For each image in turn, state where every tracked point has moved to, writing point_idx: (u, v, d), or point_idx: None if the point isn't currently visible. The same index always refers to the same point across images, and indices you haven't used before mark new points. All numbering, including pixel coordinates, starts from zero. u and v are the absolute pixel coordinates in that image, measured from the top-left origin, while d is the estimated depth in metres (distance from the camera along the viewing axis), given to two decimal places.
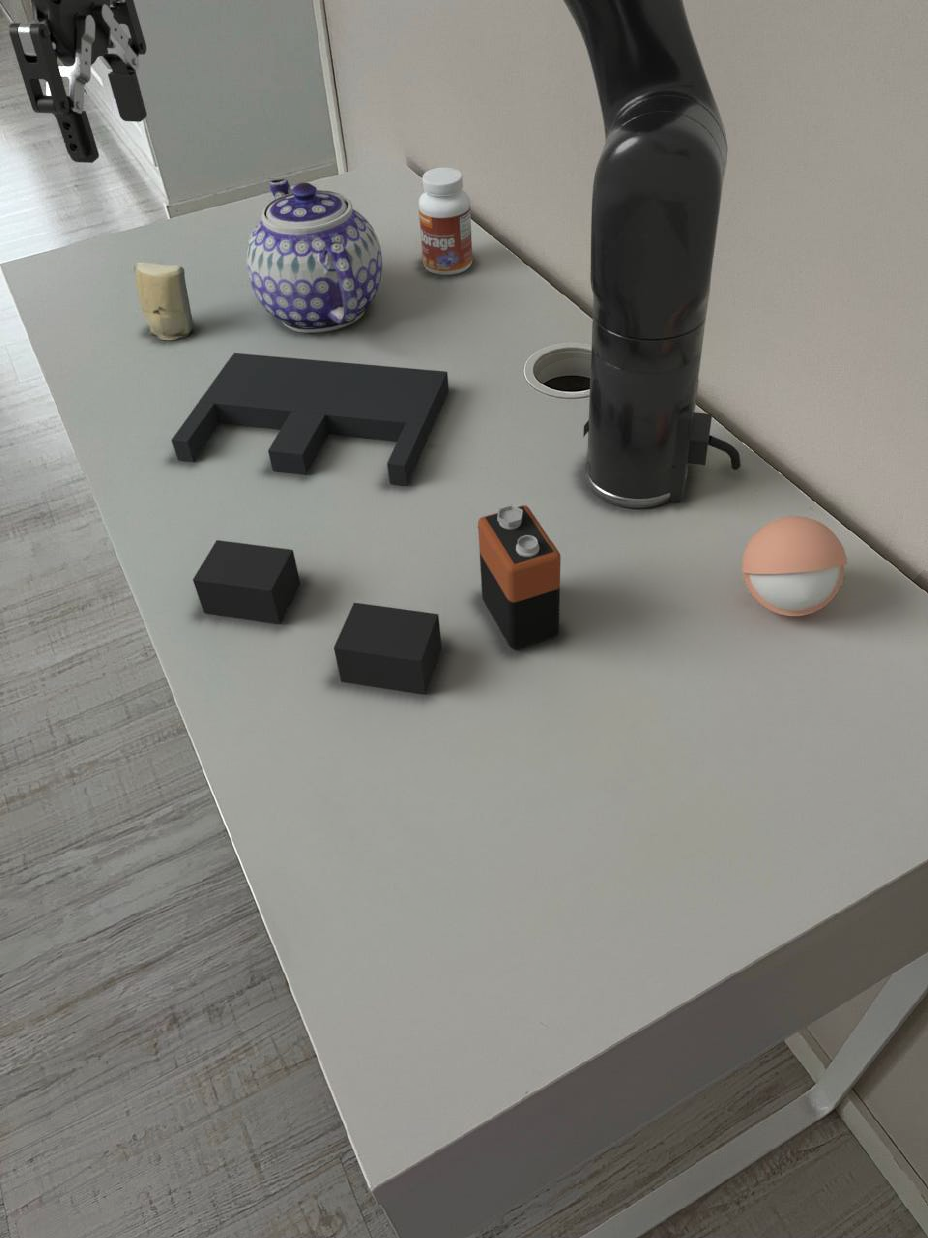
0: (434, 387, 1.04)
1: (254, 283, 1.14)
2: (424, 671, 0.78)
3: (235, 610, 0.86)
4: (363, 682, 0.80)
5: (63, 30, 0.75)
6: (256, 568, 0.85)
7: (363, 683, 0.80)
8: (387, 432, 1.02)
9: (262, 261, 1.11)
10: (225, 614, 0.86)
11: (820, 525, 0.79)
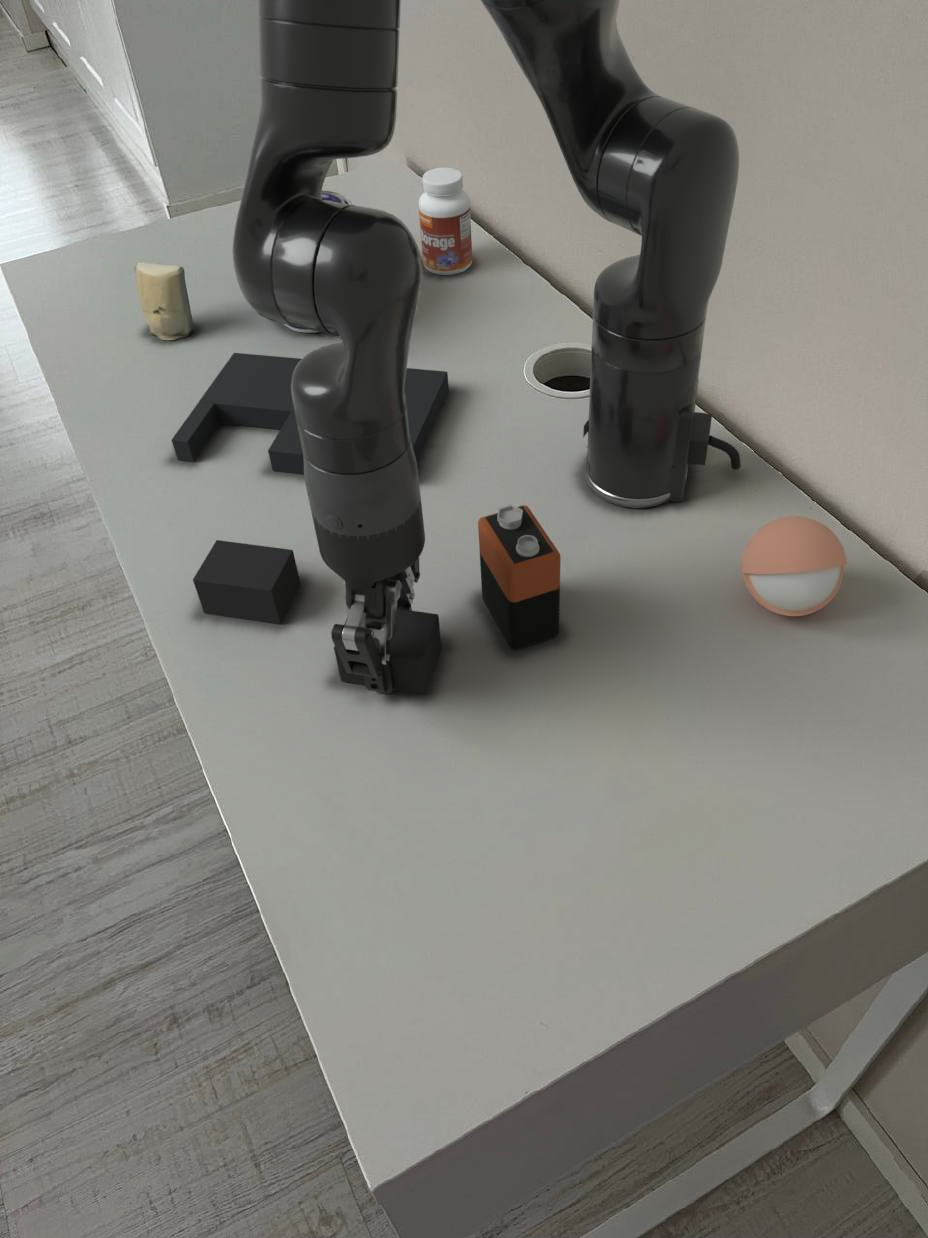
0: (434, 387, 1.04)
1: None
2: (424, 671, 0.78)
3: (235, 610, 0.86)
4: (363, 682, 0.80)
5: (376, 607, 0.72)
6: (256, 568, 0.85)
7: (363, 683, 0.80)
8: None
9: None
10: (225, 614, 0.86)
11: (820, 525, 0.79)
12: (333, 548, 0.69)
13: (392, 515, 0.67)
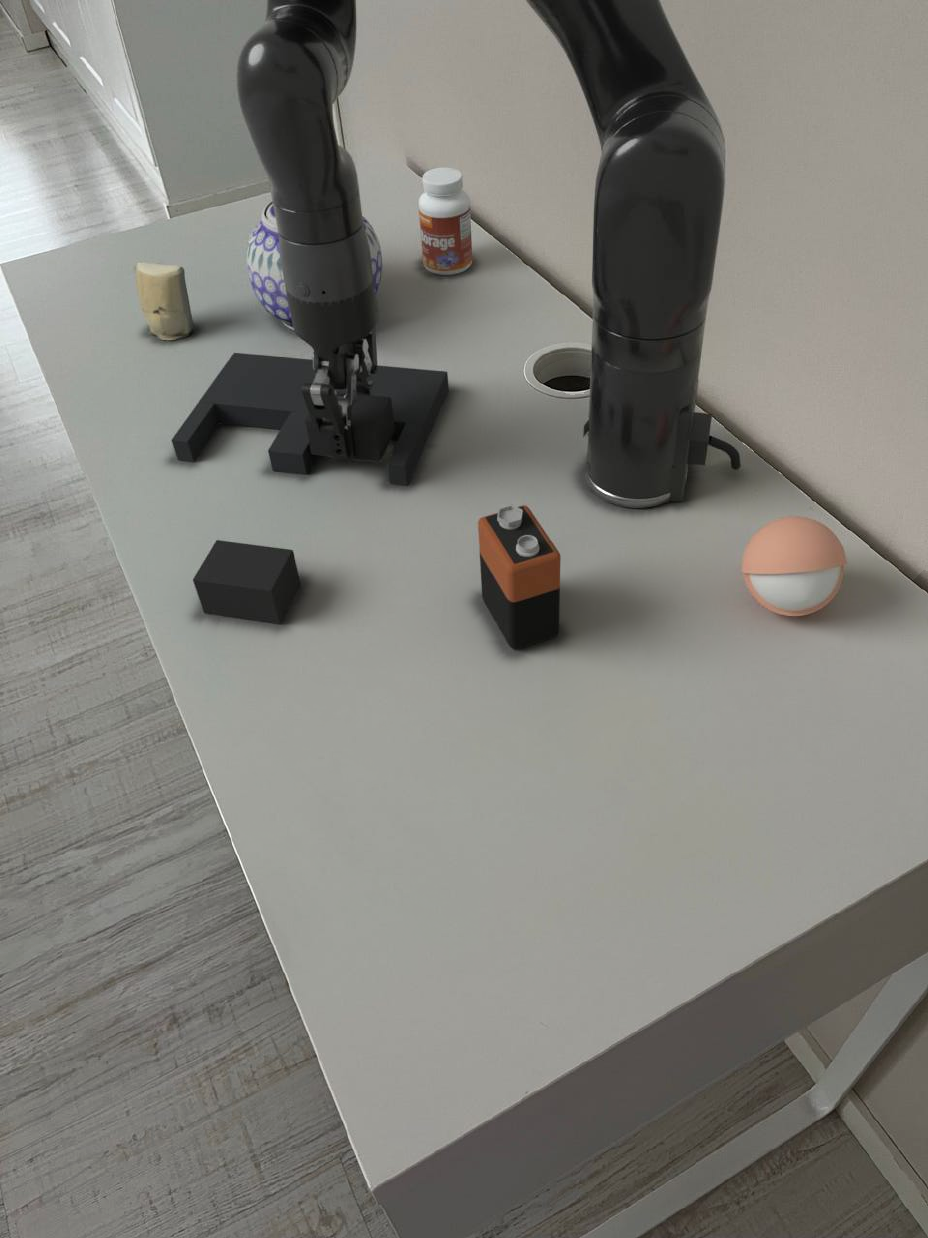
0: (434, 387, 1.04)
1: (254, 283, 1.14)
2: (378, 439, 0.96)
3: (235, 610, 0.86)
4: (329, 454, 0.98)
5: (338, 372, 0.89)
6: (256, 568, 0.85)
7: (329, 454, 0.98)
8: None
9: (262, 261, 1.11)
10: (225, 614, 0.86)
11: (820, 525, 0.79)
12: (303, 316, 0.86)
13: (349, 284, 0.84)
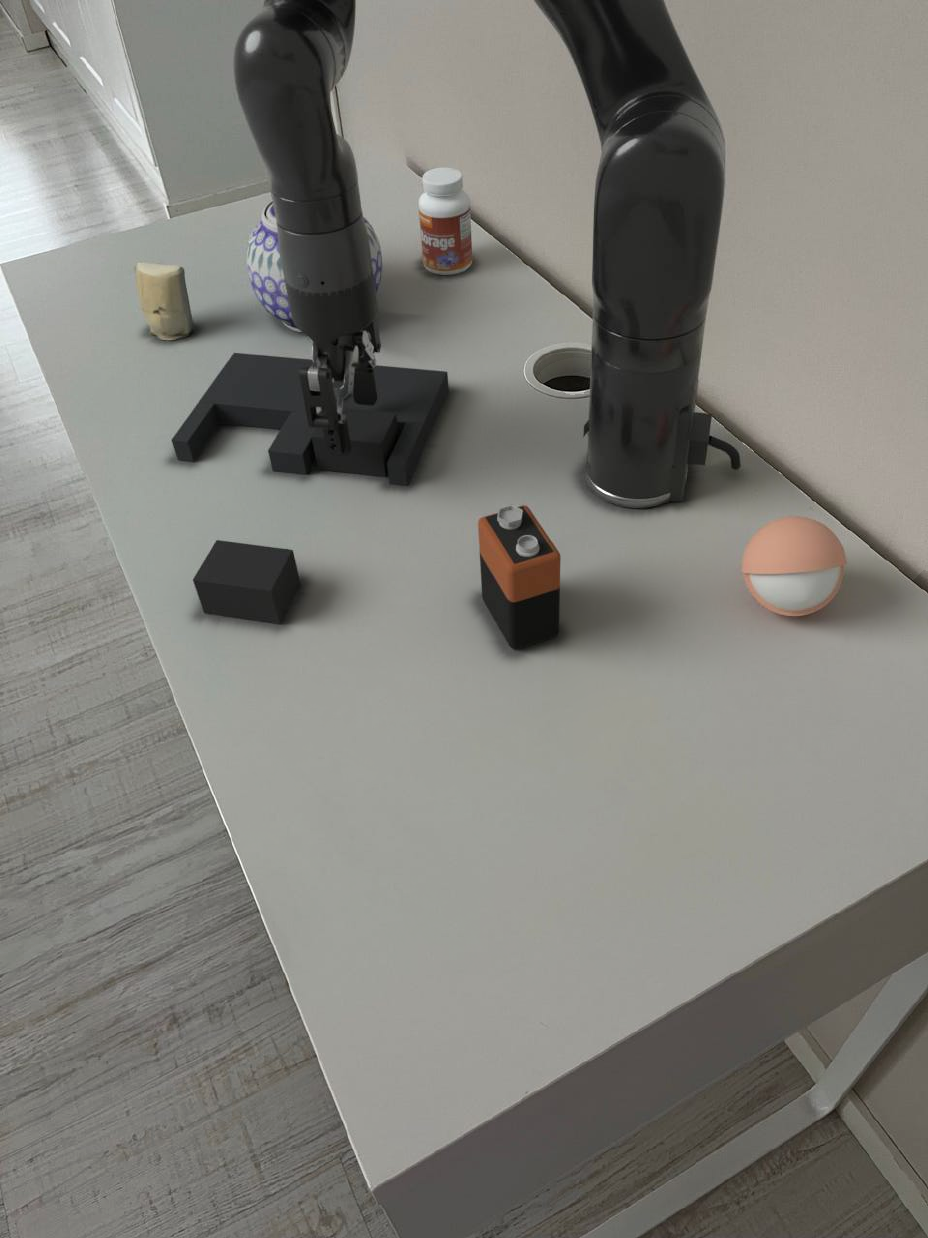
0: (434, 387, 1.04)
1: (254, 283, 1.14)
2: (384, 455, 0.97)
3: (235, 610, 0.86)
4: (336, 469, 0.99)
5: (337, 363, 0.89)
6: (256, 568, 0.85)
7: (336, 469, 0.99)
8: None
9: (262, 261, 1.11)
10: (225, 614, 0.86)
11: (820, 525, 0.79)
12: (302, 307, 0.86)
13: (348, 275, 0.84)
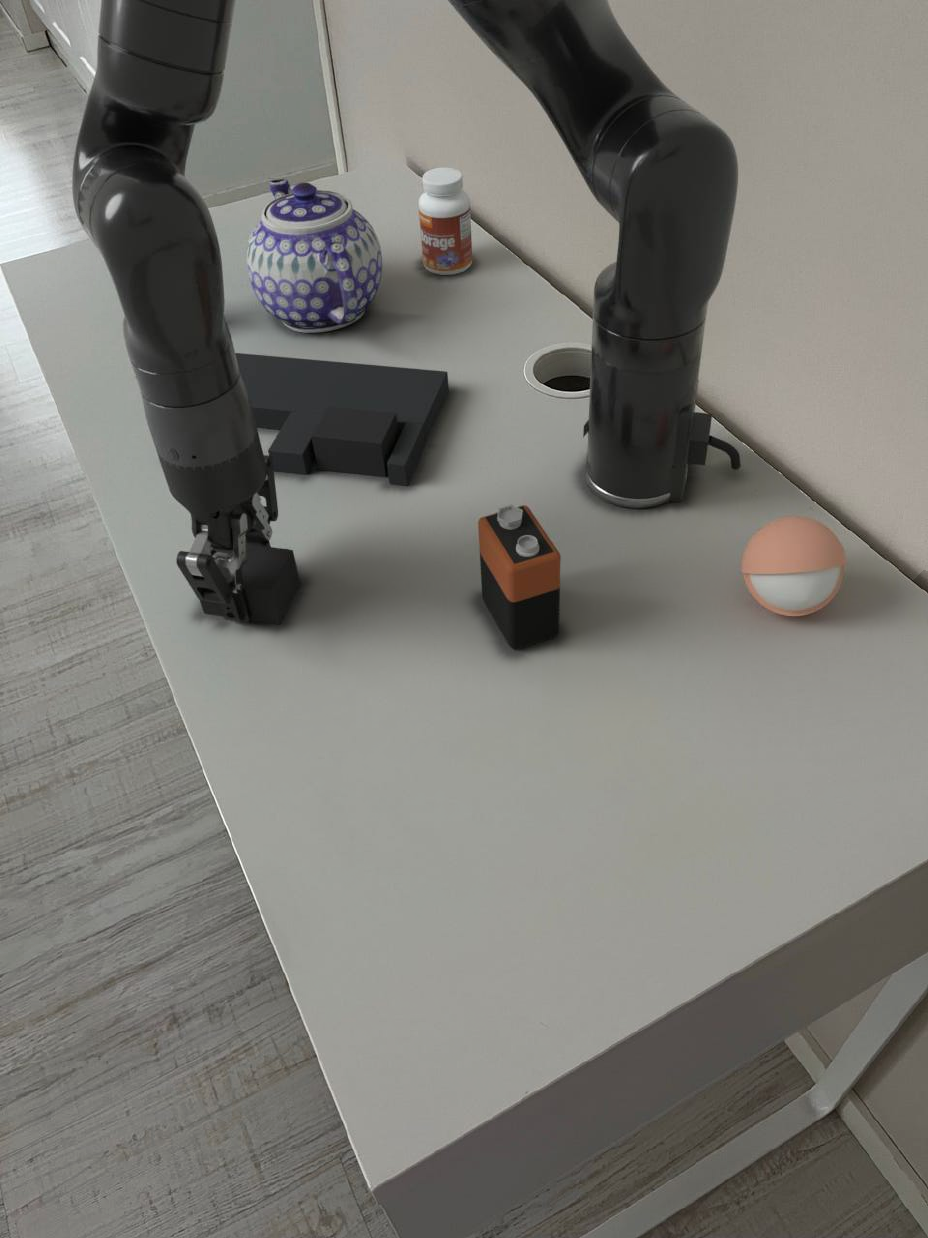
0: (434, 387, 1.04)
1: (254, 283, 1.14)
2: (384, 455, 0.97)
3: None
4: (336, 469, 0.99)
5: (220, 537, 0.78)
6: (256, 568, 0.85)
7: (336, 469, 0.99)
8: None
9: (262, 261, 1.11)
10: None
11: (820, 525, 0.79)
12: (174, 479, 0.75)
13: (224, 447, 0.73)
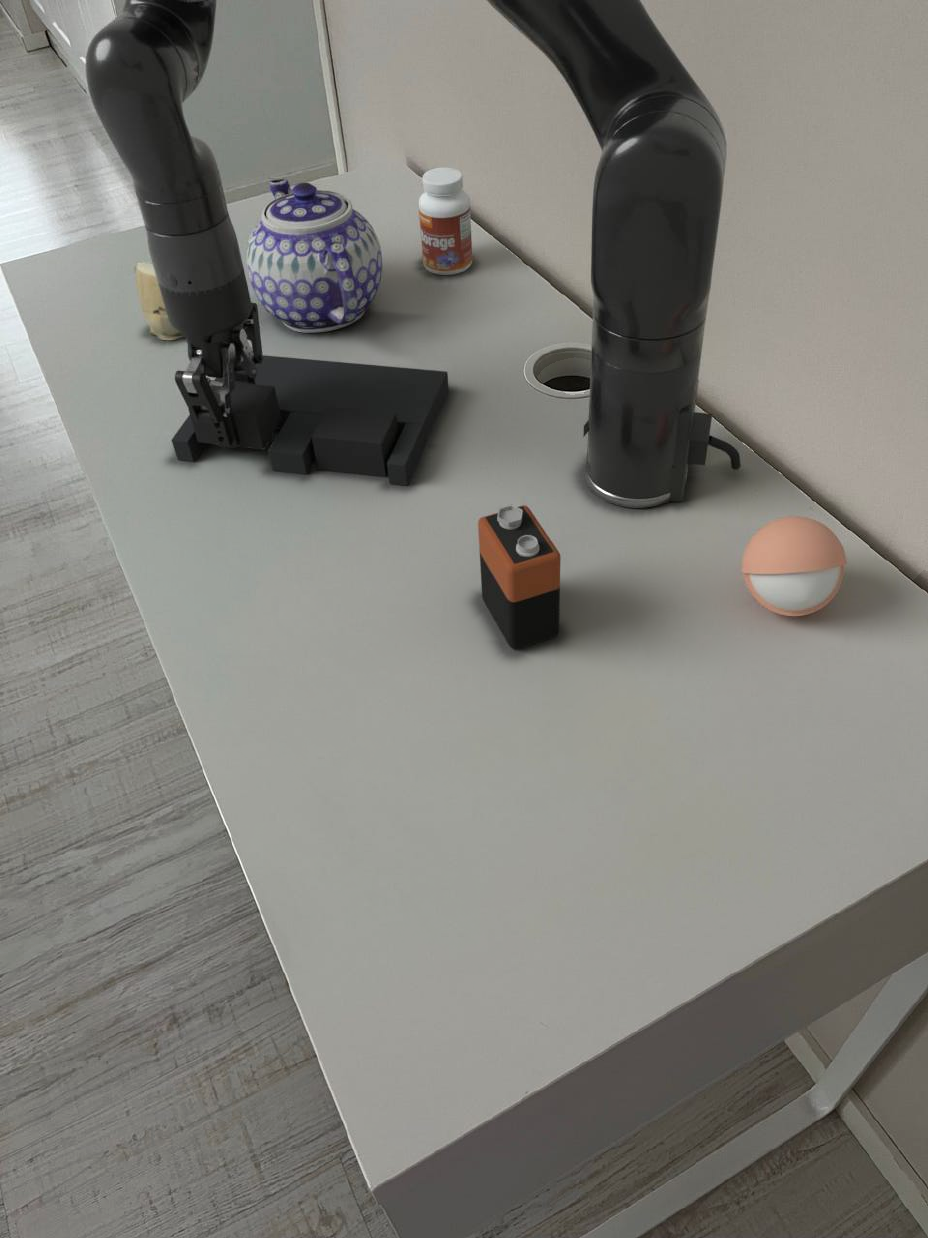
0: (434, 387, 1.04)
1: (254, 283, 1.14)
2: (384, 455, 0.97)
3: None
4: (336, 469, 0.99)
5: (212, 360, 0.92)
6: (243, 399, 0.99)
7: (336, 469, 0.99)
8: None
9: (262, 261, 1.11)
10: None
11: (820, 525, 0.79)
12: (173, 306, 0.89)
13: (215, 275, 0.87)
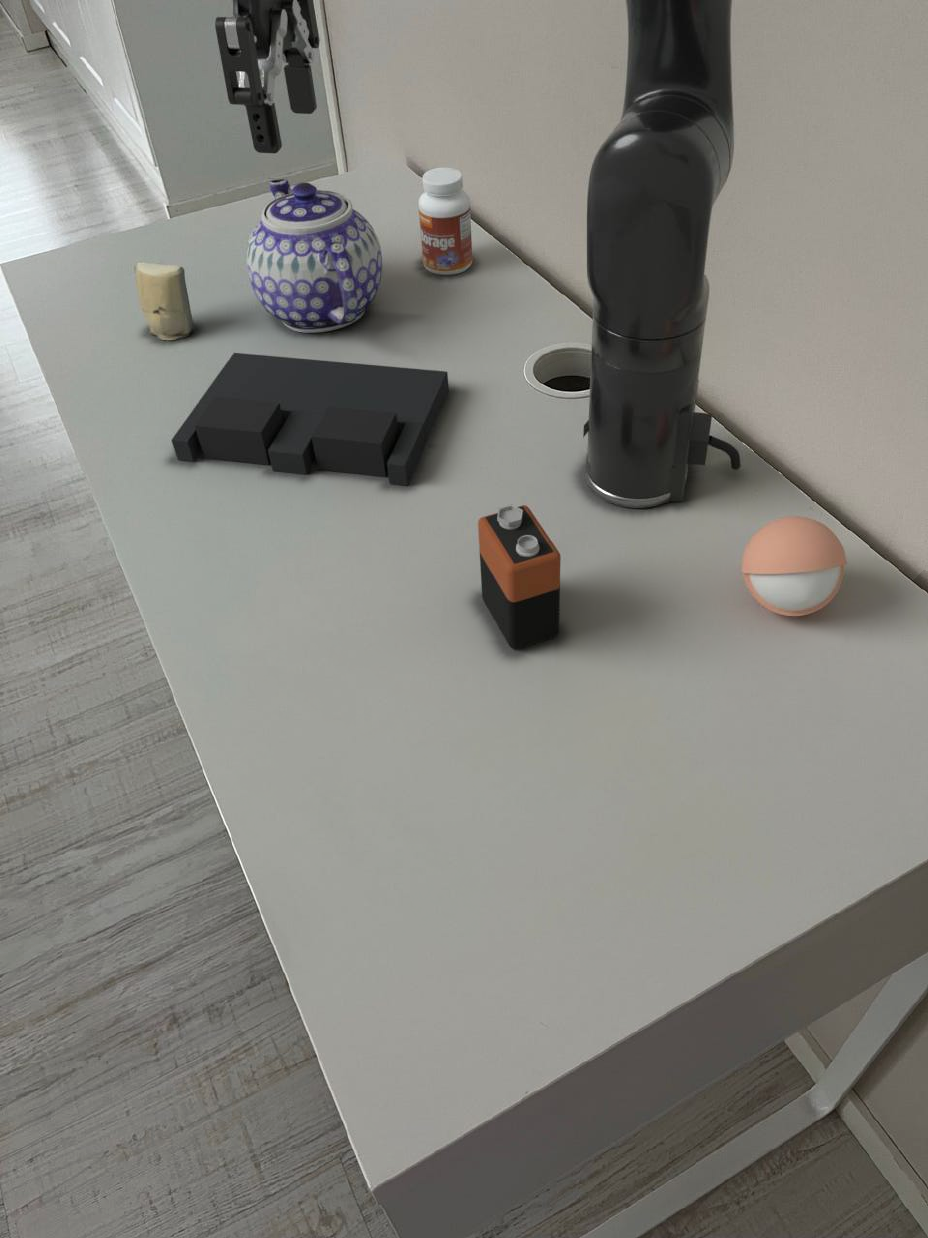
0: (434, 387, 1.04)
1: (254, 283, 1.14)
2: (384, 455, 0.97)
3: (230, 454, 1.01)
4: (336, 469, 0.99)
5: (261, 24, 0.77)
6: (248, 416, 1.00)
7: (336, 469, 0.99)
8: None
9: (262, 261, 1.11)
10: (222, 458, 1.02)
11: (820, 525, 0.79)
12: None
13: None
